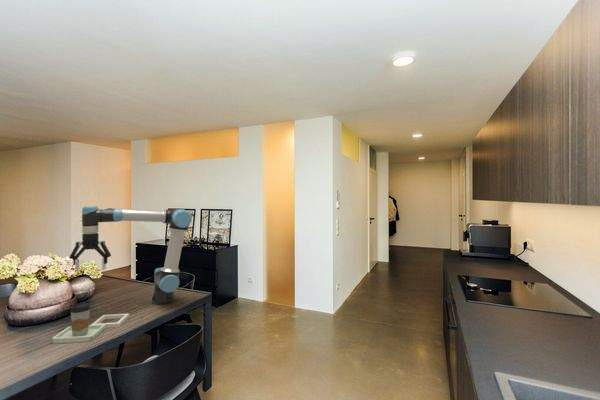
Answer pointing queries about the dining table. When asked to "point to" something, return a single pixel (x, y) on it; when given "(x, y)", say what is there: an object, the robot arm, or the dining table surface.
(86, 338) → the tray
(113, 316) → the frame
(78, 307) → the coffee cup
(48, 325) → the dining table surface
